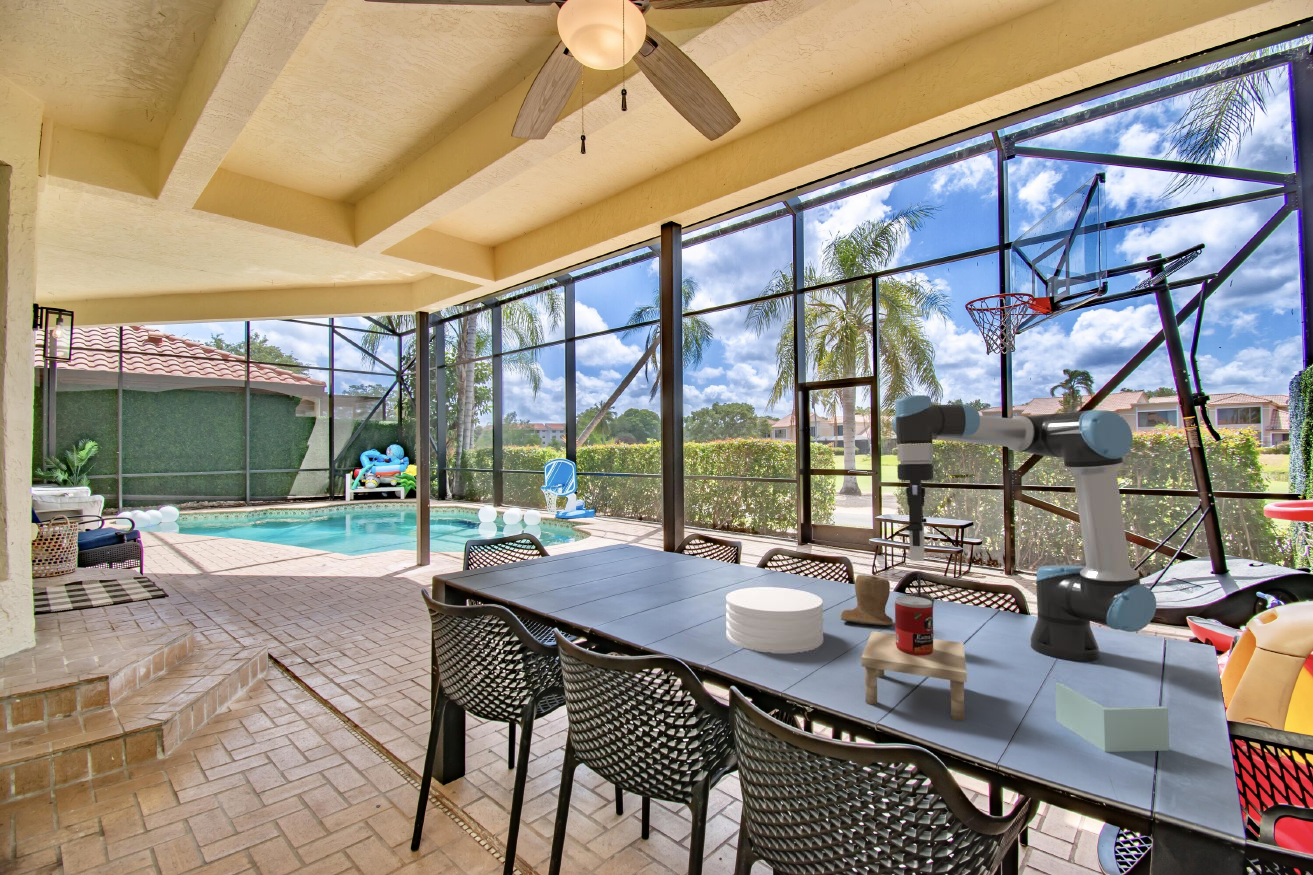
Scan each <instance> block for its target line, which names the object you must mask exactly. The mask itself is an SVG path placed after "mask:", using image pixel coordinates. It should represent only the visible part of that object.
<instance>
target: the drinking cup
mask: <svg viewBox="0 0 1313 875" xmlns="http://www.w3.org/2000/svg"><path fill="white" fill-rule="evenodd" d="M921 583H922V582H921V574H917V592H912V593H909V594H905V595H904V596H913V597H920V598H925V599H928V600H930V601H932V604H933V605H934V602H935V601H936V599H935V598H934V597H933V596H930V594H926V593H923V592H922V589H921V588H922V587H921V585H922V584H921Z"/></svg>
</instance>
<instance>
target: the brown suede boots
mask: <svg viewBox="0 0 1313 875" xmlns="http://www.w3.org/2000/svg"><path fill="white" fill-rule="evenodd" d="M854 581H855V582H854V590H855V591H854V592H855V597H856V607H855V608H853V609H844V610H843V611H842V612H841V614H840V620H841V621H844V622H847V623H848V622H849V623H857V624H862V625H876V626H890V625H892V624H893V623H894V621H893V619H892V617H890V616H889V615H887V613H886V607H887V604H888V601H889V598H890V592H891V591H890V589H891V585H890V581H889V579H887V578H885V577H880V576H875V575H874V576H873V575H867V574H866V575H865V574H858V575H856V578H855V580H854Z"/></svg>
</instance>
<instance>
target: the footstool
mask: <svg viewBox="0 0 1313 875" xmlns="http://www.w3.org/2000/svg"><path fill="white" fill-rule="evenodd" d="M964 644H965V643H964V642H960V641H951V640H946V639H945V640H944V639H938V638H937V639H936V638H933V652H932V653H931V654H929V655H913V654H908V653H905V652H902V651H900V650H899V649H898V648H897V646H896V635H895V633H889V632H883V631H874V630H872V631H871V632H870V635H869V637H868V639H867V642H866V645H865V647H864V649H863V653H862V655H861V667H864V677H865V678H864V680H865V681H864V687H865V689H864V690H865V693H864V695H865V703H866V704H868V705H872V706H874V705H877V704H878V678H884V677H885V671H888V672H894V673H901V674H908V675H915V676H921V677H927V678H934V679H940V680H948V681H949V687H950V717H951V719H952V720H955V721H964V720H965V683H968V679H967V678H968V677H967V676H968V675H967V674H968V673H967V666H966V665H967V664H966V654H965V646H964Z"/></svg>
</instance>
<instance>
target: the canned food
mask: <svg viewBox="0 0 1313 875" xmlns="http://www.w3.org/2000/svg"><path fill="white" fill-rule="evenodd" d="M894 620H895V621H894V626H895V629H894V630H895V633H894V634H895V635H896V646H897V648H898V649H899V650H900V651H902V652H905V653H908V654H913V655H929V654H931V653H932V652H933V639H934V603H933V604H932V601H930V600H928V599H925V598H920V597H913V596H905V595H902V596H901V595H900V596H897V597H895V600H894Z"/></svg>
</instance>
